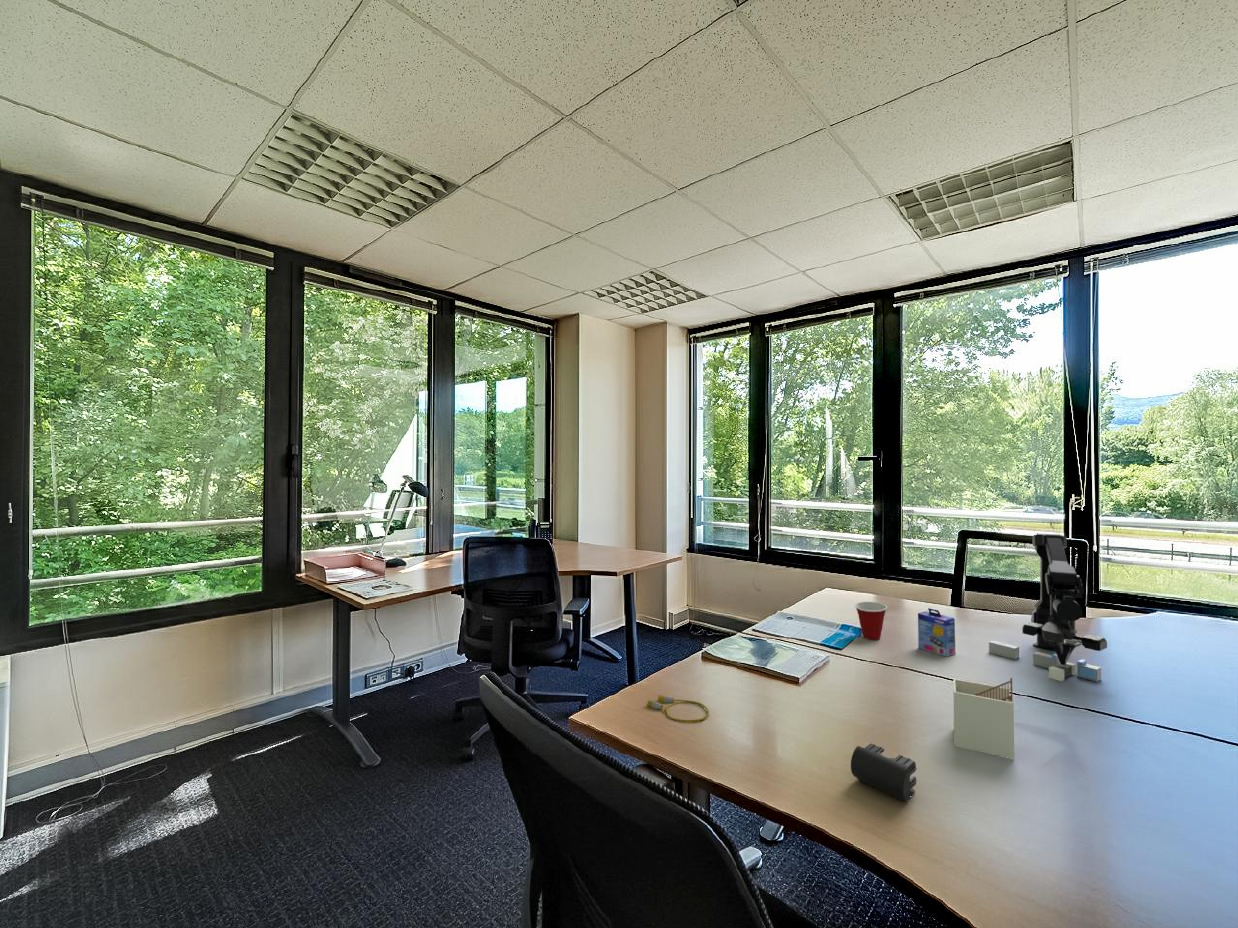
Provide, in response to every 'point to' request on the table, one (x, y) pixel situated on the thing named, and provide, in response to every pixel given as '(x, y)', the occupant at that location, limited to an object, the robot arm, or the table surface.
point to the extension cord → (669, 700)
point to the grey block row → (1045, 660)
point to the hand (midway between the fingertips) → (1063, 664)
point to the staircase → (984, 717)
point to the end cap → (884, 771)
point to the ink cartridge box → (936, 633)
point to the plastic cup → (871, 618)
